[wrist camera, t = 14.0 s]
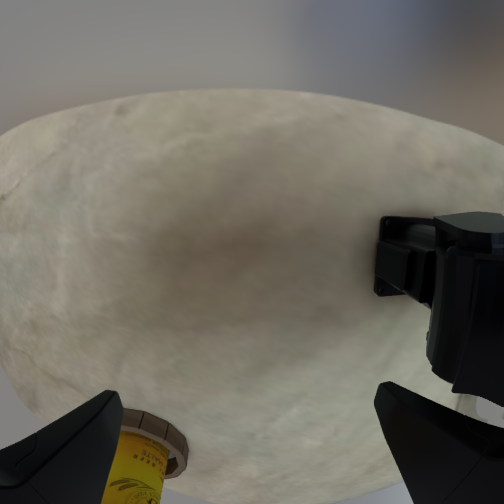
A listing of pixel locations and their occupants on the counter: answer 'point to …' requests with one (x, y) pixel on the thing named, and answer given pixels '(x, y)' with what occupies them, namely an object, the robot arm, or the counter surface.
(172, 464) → the collar
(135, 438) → the beer can
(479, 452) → the robot arm
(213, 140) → the counter surface
